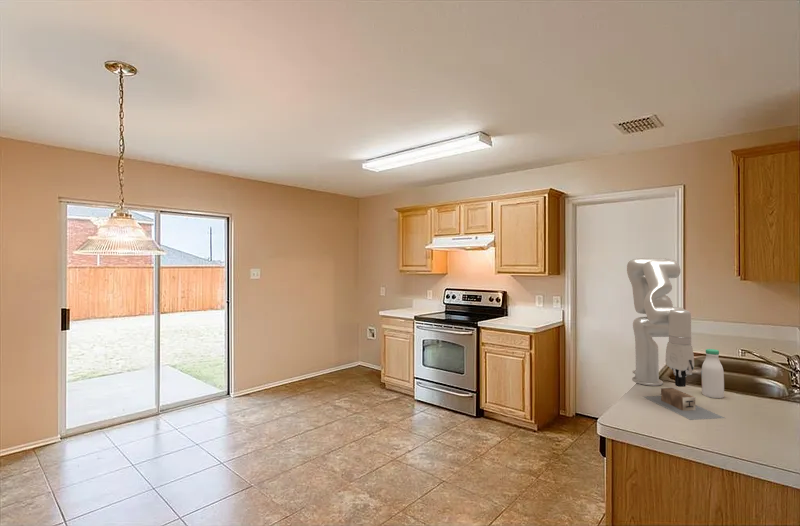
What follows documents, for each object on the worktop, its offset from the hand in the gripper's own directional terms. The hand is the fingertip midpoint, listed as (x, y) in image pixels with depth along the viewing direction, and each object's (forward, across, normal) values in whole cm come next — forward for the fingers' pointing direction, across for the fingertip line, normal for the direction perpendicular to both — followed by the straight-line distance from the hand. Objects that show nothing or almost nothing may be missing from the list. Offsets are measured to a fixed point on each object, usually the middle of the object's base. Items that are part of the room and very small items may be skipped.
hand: (680, 386), depth 163 cm
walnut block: (+6, +4, 0) cm, 7 cm away
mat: (+9, 0, 0) cm, 9 cm away
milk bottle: (+9, -11, +24) cm, 28 cm away
